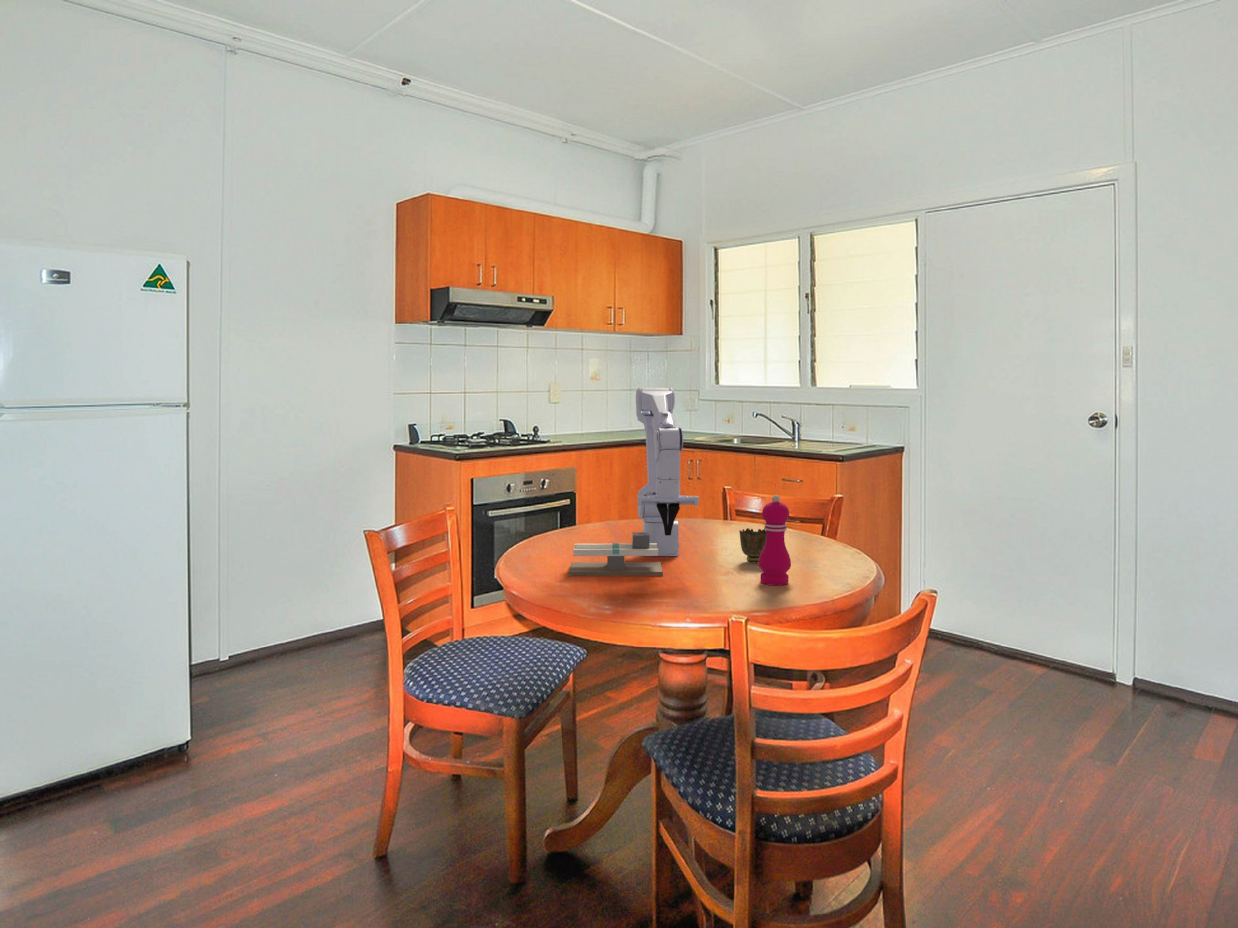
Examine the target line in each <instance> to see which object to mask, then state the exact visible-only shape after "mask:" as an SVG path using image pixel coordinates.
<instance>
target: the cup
mask: <svg viewBox="0 0 1238 928" xmlns="http://www.w3.org/2000/svg"><path fill="white" fill-rule="evenodd" d="M739 539H740V541H739V542H740V547H741V551H742V553H743V554H744V555H745V556H746V561H747V562H748V563H751V564H757V563H758V564H759V557H760V554H761V552H762V550H763V548H764V546H765V542H766V530H765V529H764V528H763V529H761V528H758V529H757V530H756V531H754V528H751V529H750V528H748V527H746V529H744V528H743V529H742V530H741V529H740V530H739Z"/></svg>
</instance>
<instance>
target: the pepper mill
mask: <svg viewBox="0 0 1238 928" xmlns="http://www.w3.org/2000/svg"><path fill="white" fill-rule="evenodd" d="M780 500H781V498H780V496H779V495H778V494H774V495H773V496H772V497H771V501H770V502H767V503H766V504H765V505H764V506H763V508H762V510H761V511H762V512H761V516H762V518H763V520H764V521H765V522H764V527H763V529H765V530H766V542H765V546H764V548H763V550H762V552H761V554H760V557H759V563H758V567H759V568H760V570H761V571H762V572H761V573H760V583H762V584H763V585H768V586H786V585H787V584H789V574H788V573H787V572H788V571H789V570H790V569H791V566H792V560H791V556H790V553H789V551H788V549H787V547H786V542H785V535H786V534H785V532H786V531H787V530H788V529H787V526H788V524H787V521H788V519H789V518H790V510H789V508H788V506H787V505H786V504H785V503H783V502H781V501H780Z"/></svg>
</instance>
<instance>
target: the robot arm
mask: <svg viewBox="0 0 1238 928" xmlns="http://www.w3.org/2000/svg"><path fill="white" fill-rule="evenodd" d="M675 398H676V397H675V390H674V389H673V388H672V387H638V388H637V389H636V390H635V406H636V407H635V409H636V410H635V411H636V413H635V414H636V418H637V421H639V422H640V423H642V424H643V426H644V427H643V428H644V430H645V431H644V432H645V445H646V468H647V469H646V470H647V471H646V472H647V473H646V474H647V483H646V484H645V485H644V486H642V487H641V488H640V489H639V490H638V492H637V516H638V518H639V519H640V520H642V525H643V527H642V532H649V543H657V549H658V556H657V557H679V556H680V555H679V548H680V541H679V540H680V539H679V534H680V533H679V521H678V520H676V518H677V516H678V513H679V511H680V508H681V507H680V505H681V506H682V505H683V506H685V505H687V506H688V505H689V506H690V505H693V506H699V505H700V504H699V503H700V502H699V501H700V497H699V496H698V495H682V494H681V452H682V451H683V447H684V435H683V430H682V427H681V426H677V425H678V424H677V423H676V419H675V418H676V417H675V416H674V415H673V412H674V409H675V402H676V401H675Z"/></svg>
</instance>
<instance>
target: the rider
mask: <svg viewBox="0 0 1238 928" xmlns="http://www.w3.org/2000/svg"><path fill="white" fill-rule="evenodd" d="M631 539H632V540H631V542H632V543H631V544H632V549H649V532H643V531H640V532H636V531H634V532H632V533H631Z"/></svg>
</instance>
